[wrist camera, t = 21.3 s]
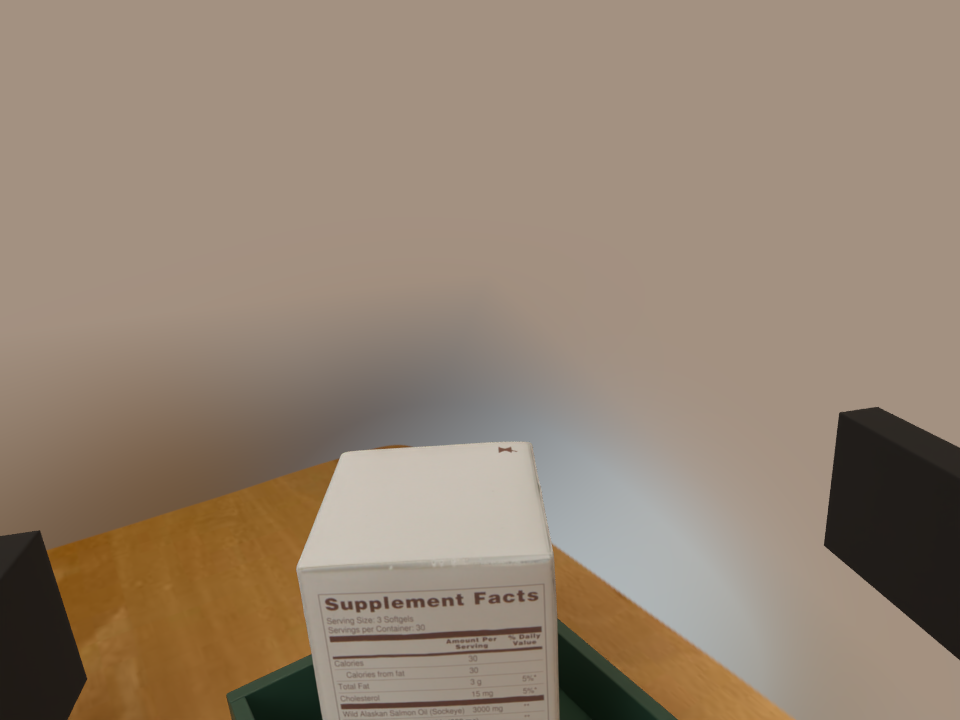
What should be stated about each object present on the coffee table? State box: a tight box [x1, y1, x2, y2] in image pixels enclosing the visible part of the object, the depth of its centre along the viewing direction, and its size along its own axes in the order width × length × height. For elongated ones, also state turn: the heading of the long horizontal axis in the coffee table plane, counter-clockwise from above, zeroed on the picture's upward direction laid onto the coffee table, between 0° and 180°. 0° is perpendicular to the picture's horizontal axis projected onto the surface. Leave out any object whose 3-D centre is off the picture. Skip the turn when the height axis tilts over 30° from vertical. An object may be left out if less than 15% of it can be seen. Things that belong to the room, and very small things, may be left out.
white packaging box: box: [296, 442, 559, 720], centre depth 24 cm, size 7×7×13 cm
